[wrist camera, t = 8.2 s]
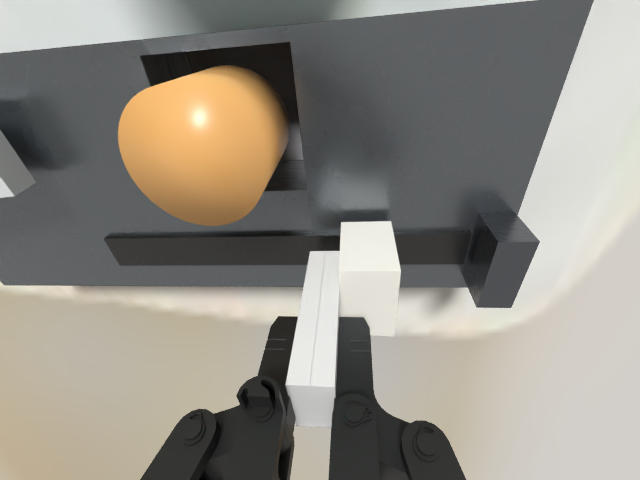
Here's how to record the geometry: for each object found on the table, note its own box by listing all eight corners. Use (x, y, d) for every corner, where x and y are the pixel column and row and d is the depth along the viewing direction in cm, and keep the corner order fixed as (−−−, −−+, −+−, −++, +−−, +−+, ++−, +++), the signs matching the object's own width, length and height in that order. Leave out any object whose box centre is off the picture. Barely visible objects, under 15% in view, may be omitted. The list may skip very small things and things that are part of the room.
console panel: (51, 250, 24) (-32, 312, 19) (-91, 63, 16) (-293, 81, 11) (469, 245, 20) (509, 321, 15) (534, 2, 13) (657, -14, 8)
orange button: (204, 175, 15) (154, 227, 12) (169, 69, 13) (88, 89, 9) (295, 172, 15) (276, 224, 11) (280, 59, 12) (247, 77, 8)
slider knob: (343, 281, 17) (342, 335, 14) (341, 222, 15) (338, 271, 12) (386, 281, 17) (394, 336, 14) (391, 221, 14) (400, 271, 11)
